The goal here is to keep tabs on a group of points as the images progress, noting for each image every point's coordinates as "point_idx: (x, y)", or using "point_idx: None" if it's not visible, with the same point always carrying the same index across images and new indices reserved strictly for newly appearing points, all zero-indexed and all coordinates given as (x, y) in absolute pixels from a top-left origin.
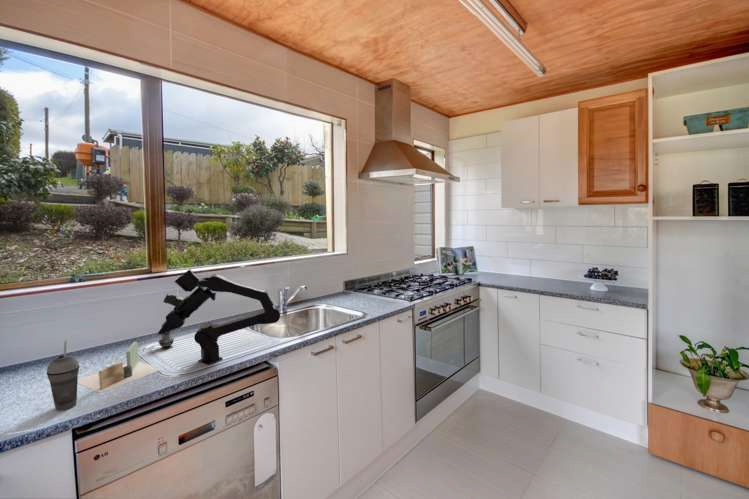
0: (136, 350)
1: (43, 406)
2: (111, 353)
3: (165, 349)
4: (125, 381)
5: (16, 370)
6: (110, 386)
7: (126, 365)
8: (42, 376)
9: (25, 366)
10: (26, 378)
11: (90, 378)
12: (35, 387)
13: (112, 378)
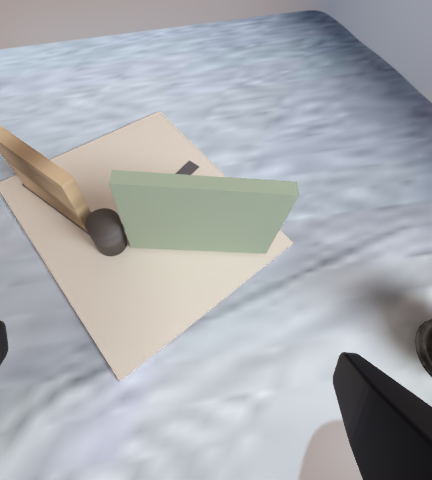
0: (260, 220)
1: (8, 89)
2: (397, 158)
3: (424, 350)
4: (52, 243)
5: (302, 20)
6: (33, 204)
7: None
8: (241, 58)
9: (325, 27)
10: (240, 39)
11: (157, 142)
12: (166, 59)
13: (44, 193)
